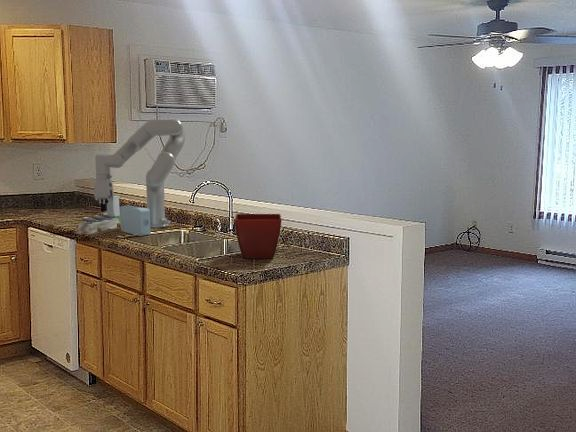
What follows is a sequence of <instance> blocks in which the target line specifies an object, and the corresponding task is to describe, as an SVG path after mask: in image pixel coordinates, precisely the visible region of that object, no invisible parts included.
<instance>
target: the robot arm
mask: <svg viewBox="0 0 576 432" xmlns="http://www.w3.org/2000/svg"><path fill="white" fill-rule="evenodd" d="M156 136H163V137H164V136H165V137H166V136H168V139H167V141H166V144H165V145H164V147H163V148H162V150H161V151H160V153H159V154H158V155H157V156H156V159H155V161H154V162H153V164H152V167H150V169H149V170H148V171H147V172H146V175H145V184H146V186H145V189H146V209H149V210H150V227H151V228H153V229H154V228H166V227H168V226H169V225H170V224H171V221H172V220H169V219H168V217H166V209H165V207H166V206H165V204H166V203H165V202H166V201H165V181H166V179H167V178H168V176H169V174H170V173H171V172H172V170H173V168H174V166H175V164H176V159H177V157H178V155H179V154H180V152H181V150H182V149H183V147H184V144H185V142H186V141H185V140H186V134H185V129H184V127H183V123H182V122H181V121H180V120H179V119H173V118H171V119H155V118H154V119H153V118H152V119H149V120H147V121H146V122H145V123H144V124H142V125H141V126H140V127H139V128H138V129H137V131H135V132H134V133H133V134H132V135H131V136H130V137H129V138H128V139H127V140H126V142H125V143H124V144H123V145H122V146H121V147H120V148H119V149H117V151H115V153H113V154H107V153H97V154H96V155H95V158H94V159H95V160H94V161H95V163H94V165H95V166H94V167H95V180H94V184H93V185H94V186H93V195H94V200H95V201H98V203H99V204H100V212H101V213H102V212H103V213H104V212H105V211H107V204H108V202H109V201H112V198H113V197H114V196H115V193H114V192H115V191H114V184H113V183H114V182H113V180H112V179H111V178H112V175H111V168H112V169H120V168H122V167H123V166H124V164H126V163H127V162H128V161H129V159H131V158H132V157H133V156H134V155H135V154H136V153H138V152H139V151H140V150H142V149H143V148H144V147H145V146H146V145H147V144H148V143H150V141H151V140H152V139H154V137H156ZM108 198H109V199H108Z"/></svg>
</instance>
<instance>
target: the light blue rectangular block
mask: <svg viewBox="0 0 576 432" xmlns="http://www.w3.org/2000/svg"><path fill="white" fill-rule="evenodd" d="M119 209H120V223H121V230H120V231H121V232H125V233H128V234H132V235H136V236H140V237H142V236H143V237H144V236H150V235H151V230H152V229H151V227H150V210H149V209H147V207H140V206H135V205H130V204H129V205H121V206H119Z"/></svg>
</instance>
